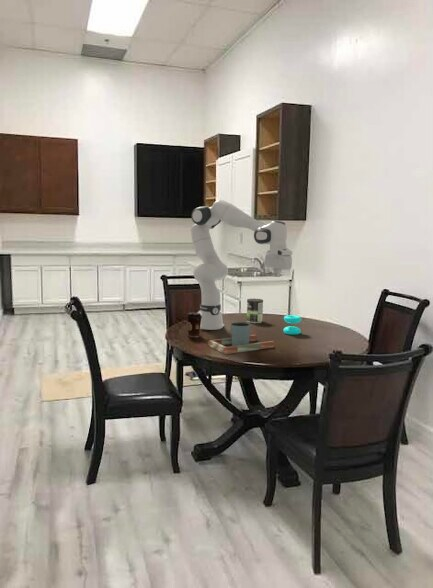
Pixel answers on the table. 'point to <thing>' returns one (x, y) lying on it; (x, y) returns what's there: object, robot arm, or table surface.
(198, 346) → the table surface
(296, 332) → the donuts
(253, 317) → the coffee can
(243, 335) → the grey-blue cylinder
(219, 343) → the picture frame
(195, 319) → the coffee cup
